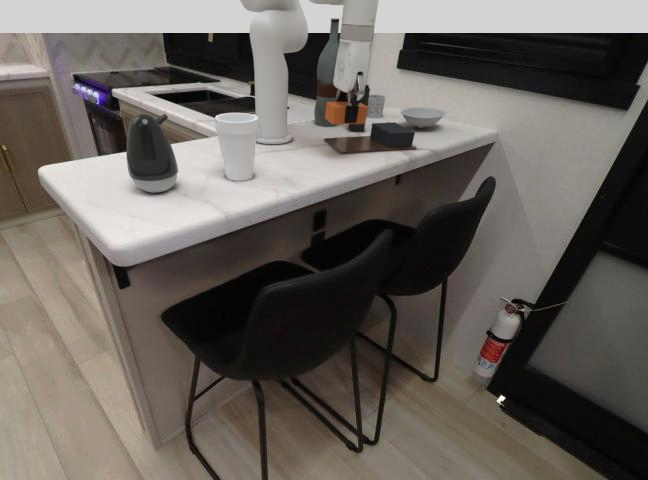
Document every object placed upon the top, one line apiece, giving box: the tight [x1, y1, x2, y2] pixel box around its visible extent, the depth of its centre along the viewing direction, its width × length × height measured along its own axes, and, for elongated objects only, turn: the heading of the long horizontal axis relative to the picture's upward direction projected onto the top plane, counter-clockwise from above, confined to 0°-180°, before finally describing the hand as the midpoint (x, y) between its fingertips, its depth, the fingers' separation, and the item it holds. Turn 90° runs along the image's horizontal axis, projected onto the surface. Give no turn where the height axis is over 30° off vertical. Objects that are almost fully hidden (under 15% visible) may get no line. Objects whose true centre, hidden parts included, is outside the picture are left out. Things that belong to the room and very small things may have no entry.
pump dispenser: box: [125, 112, 179, 194], centre depth 79 cm, size 10×10×15 cm
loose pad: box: [325, 102, 368, 125], centre depth 97 cm, size 9×6×4 cm, turn 105°
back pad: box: [369, 122, 416, 148], centre depth 115 cm, size 8×12×4 cm, turn 15°
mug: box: [366, 94, 386, 119], centre depth 144 cm, size 10×7×7 cm
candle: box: [347, 52, 371, 133], centre depth 121 cm, size 5×5×25 cm
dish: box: [400, 107, 447, 129], centre depth 131 cm, size 18×14×5 cm
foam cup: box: [214, 112, 258, 182], centre depth 87 cm, size 10×9×13 cm
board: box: [324, 135, 417, 155], centre depth 115 cm, size 24×14×1 cm, turn 105°
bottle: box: [313, 17, 340, 128], centre depth 125 cm, size 9×9×30 cm
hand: (345, 118), depth 98 cm, fingers closed on loose pad, 6 cm apart
